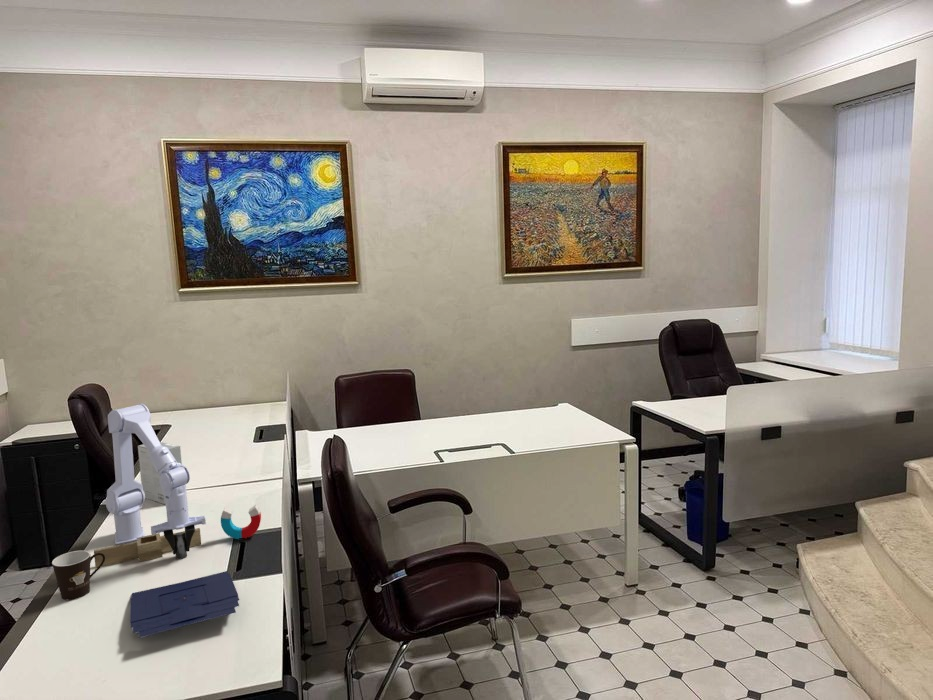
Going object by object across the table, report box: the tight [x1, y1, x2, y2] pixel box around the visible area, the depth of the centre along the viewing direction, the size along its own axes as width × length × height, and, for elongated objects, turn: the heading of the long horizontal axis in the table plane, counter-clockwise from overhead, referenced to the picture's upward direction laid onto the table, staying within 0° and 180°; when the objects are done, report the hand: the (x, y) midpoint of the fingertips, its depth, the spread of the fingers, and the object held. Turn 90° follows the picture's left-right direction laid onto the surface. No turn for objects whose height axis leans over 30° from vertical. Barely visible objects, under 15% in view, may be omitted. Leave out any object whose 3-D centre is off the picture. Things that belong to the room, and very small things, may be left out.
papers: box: [129, 570, 240, 638], centre depth 160 cm, size 24×30×4 cm
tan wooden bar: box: [93, 527, 202, 569], centre depth 189 cm, size 6×28×5 cm, turn 119°
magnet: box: [220, 504, 262, 540], centre depth 199 cm, size 12×3×10 cm, turn 102°
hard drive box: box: [137, 441, 183, 506], centre depth 232 cm, size 16×8×20 cm, turn 58°
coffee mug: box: [51, 550, 105, 601], centre depth 168 cm, size 12×9×10 cm
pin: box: [174, 531, 188, 560], centre depth 187 cm, size 3×3×7 cm
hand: (181, 551), depth 187 cm, fingers closed on pin, 3 cm apart
